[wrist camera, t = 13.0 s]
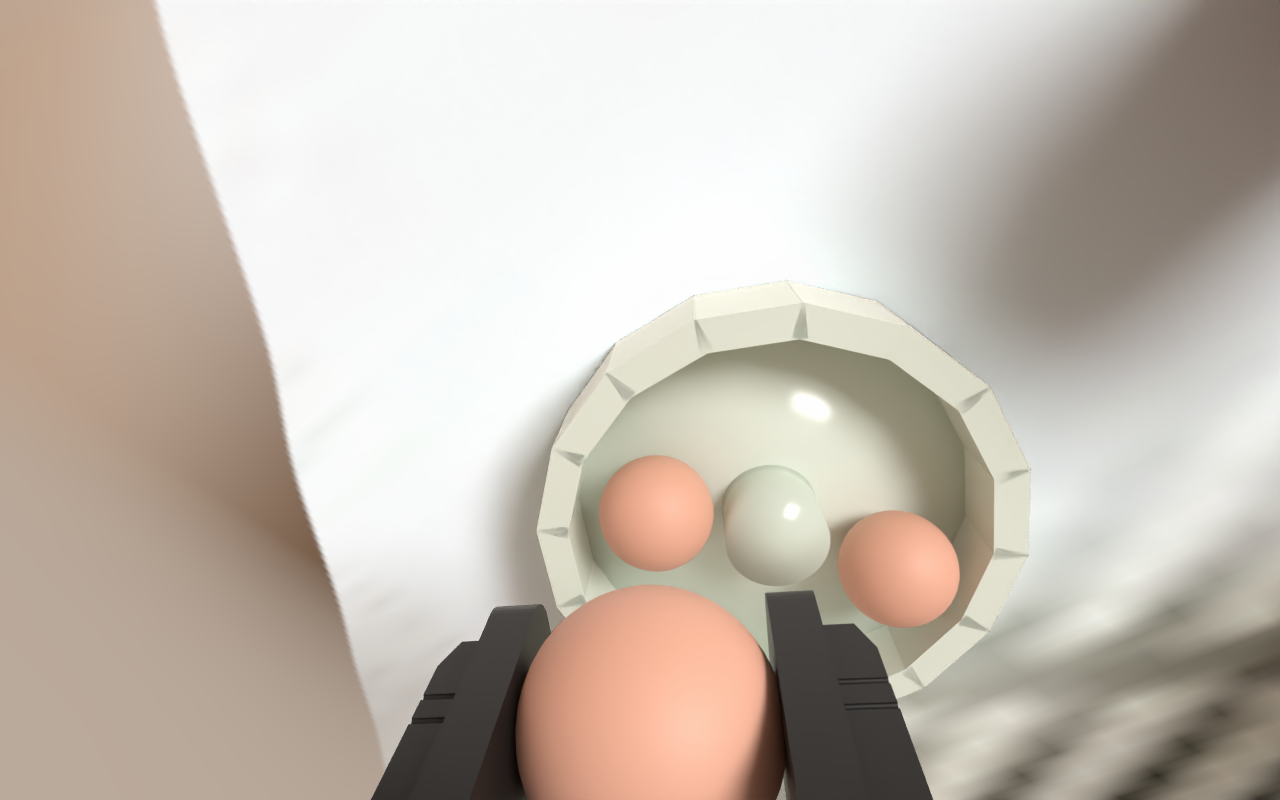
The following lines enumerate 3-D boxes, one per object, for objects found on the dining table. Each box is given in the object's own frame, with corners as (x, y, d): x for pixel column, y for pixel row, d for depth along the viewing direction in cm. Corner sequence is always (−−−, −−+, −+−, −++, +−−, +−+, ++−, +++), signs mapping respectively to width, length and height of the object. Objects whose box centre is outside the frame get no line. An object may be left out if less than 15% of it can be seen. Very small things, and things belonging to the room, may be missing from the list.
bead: (615, 422, 21) (611, 496, 18) (722, 445, 22) (736, 520, 19) (591, 505, 23) (584, 585, 20) (690, 525, 24) (698, 605, 20)
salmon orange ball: (958, 527, 22) (1006, 594, 19) (884, 597, 24) (918, 672, 20) (877, 470, 22) (912, 529, 18) (805, 545, 23) (826, 613, 20)
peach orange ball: (777, 714, 11) (816, 961, 8) (566, 723, 11) (514, 962, 8) (763, 527, 10) (801, 722, 6) (526, 544, 10) (447, 737, 7)
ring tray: (1079, 453, 22) (1141, 500, 19) (794, 717, 27) (808, 788, 24) (726, 187, 20) (734, 194, 17) (483, 528, 25) (456, 580, 22)
